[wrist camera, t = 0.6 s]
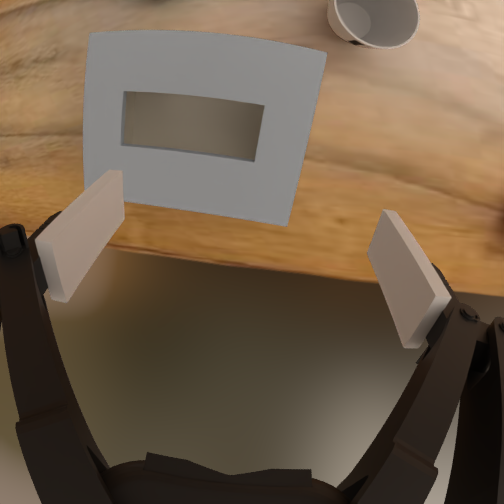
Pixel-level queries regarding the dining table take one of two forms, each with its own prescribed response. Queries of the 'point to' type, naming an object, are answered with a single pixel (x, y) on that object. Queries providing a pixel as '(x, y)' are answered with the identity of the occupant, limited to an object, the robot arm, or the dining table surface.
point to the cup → (374, 22)
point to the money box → (200, 119)
